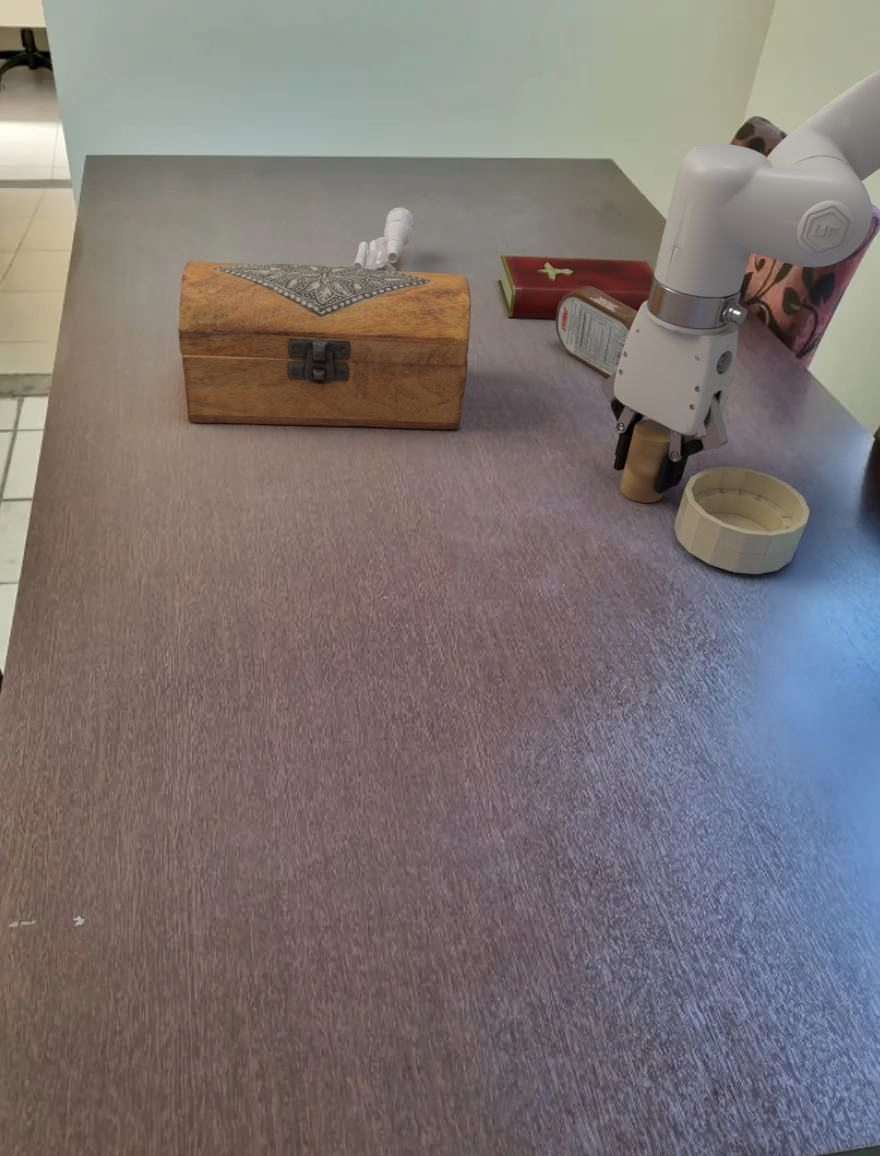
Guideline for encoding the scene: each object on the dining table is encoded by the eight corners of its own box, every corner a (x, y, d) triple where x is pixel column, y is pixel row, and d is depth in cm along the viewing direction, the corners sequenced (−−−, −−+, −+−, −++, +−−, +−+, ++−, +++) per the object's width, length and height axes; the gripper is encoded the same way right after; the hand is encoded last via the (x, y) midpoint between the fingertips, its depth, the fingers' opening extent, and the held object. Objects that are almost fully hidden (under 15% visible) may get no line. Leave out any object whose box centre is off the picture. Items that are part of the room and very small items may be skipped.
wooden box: (182, 427, 104) (169, 301, 94) (204, 357, 116) (194, 239, 107) (462, 439, 105) (476, 316, 96) (454, 369, 117) (465, 253, 108)
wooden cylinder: (671, 493, 99) (689, 432, 95) (645, 507, 97) (661, 446, 92) (637, 474, 102) (653, 414, 97) (610, 488, 99) (625, 427, 95)
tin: (648, 389, 116) (665, 322, 111) (629, 395, 115) (645, 327, 109) (565, 340, 125) (576, 275, 119) (546, 345, 124) (557, 279, 118)
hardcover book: (663, 324, 130) (670, 293, 128) (508, 319, 129) (513, 287, 126) (642, 288, 139) (649, 258, 136) (497, 282, 138) (501, 252, 135)
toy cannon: (375, 300, 135) (348, 271, 132) (383, 263, 145) (359, 235, 143) (418, 263, 131) (391, 232, 129) (423, 227, 142) (398, 198, 139)
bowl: (813, 549, 94) (832, 505, 90) (748, 594, 88) (766, 550, 84) (716, 496, 99) (730, 454, 96) (649, 535, 94) (662, 492, 90)
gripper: (797, 325, 84) (736, 502, 96) (641, 261, 92) (603, 431, 105) (749, 347, 80) (691, 529, 92) (591, 278, 89) (557, 453, 101)
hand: (645, 475), depth 98 cm, fingers closed on wooden cylinder, 4 cm apart
